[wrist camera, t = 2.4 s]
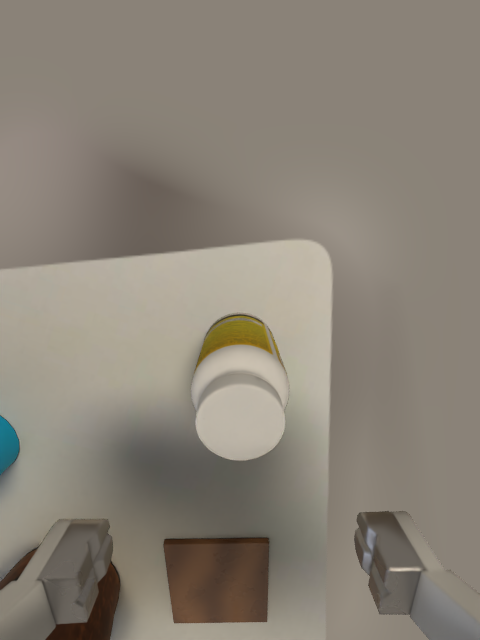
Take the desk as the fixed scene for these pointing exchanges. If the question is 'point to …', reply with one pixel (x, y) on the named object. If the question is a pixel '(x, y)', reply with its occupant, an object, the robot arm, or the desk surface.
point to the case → (96, 631)
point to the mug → (7, 445)
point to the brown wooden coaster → (218, 579)
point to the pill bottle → (240, 389)
